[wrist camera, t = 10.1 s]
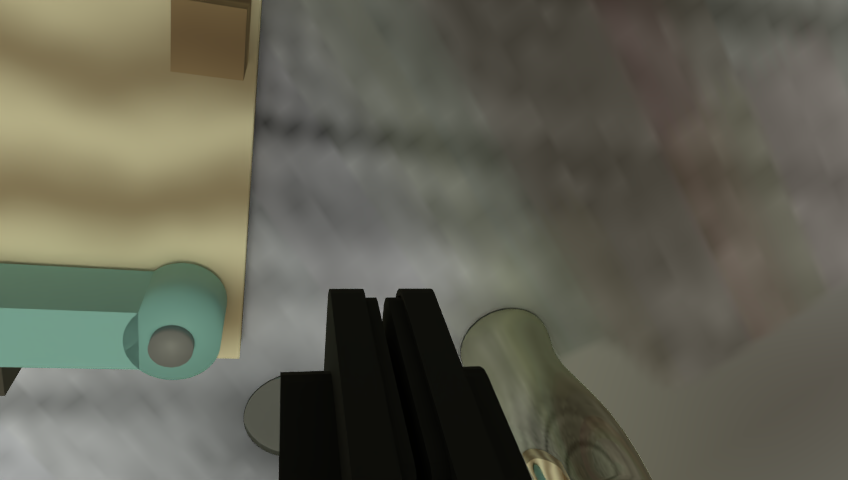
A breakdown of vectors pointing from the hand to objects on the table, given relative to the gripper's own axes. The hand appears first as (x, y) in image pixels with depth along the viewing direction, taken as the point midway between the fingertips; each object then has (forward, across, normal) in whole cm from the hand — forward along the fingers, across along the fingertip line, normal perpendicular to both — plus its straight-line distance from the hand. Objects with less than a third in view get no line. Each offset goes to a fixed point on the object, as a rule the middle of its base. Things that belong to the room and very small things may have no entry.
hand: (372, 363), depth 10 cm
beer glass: (+24, -13, +18) cm, 33 cm away
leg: (+22, +11, +13) cm, 28 cm away
